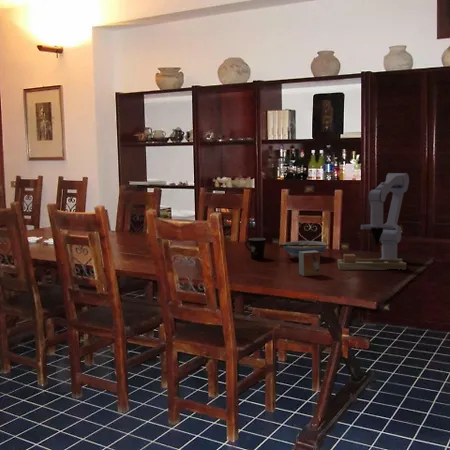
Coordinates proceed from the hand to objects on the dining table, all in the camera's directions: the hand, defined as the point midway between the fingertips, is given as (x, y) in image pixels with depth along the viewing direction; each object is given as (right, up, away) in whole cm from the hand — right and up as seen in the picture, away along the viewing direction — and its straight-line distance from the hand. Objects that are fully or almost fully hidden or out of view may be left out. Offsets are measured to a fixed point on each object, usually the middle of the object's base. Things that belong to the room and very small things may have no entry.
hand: (376, 244), depth 286 cm
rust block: (-13, -9, 0) cm, 16 cm away
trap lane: (-3, -11, -1) cm, 11 cm away
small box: (-33, -13, -14) cm, 39 cm away
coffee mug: (-55, -8, +31) cm, 64 cm away
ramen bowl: (-30, -8, +27) cm, 41 cm away
